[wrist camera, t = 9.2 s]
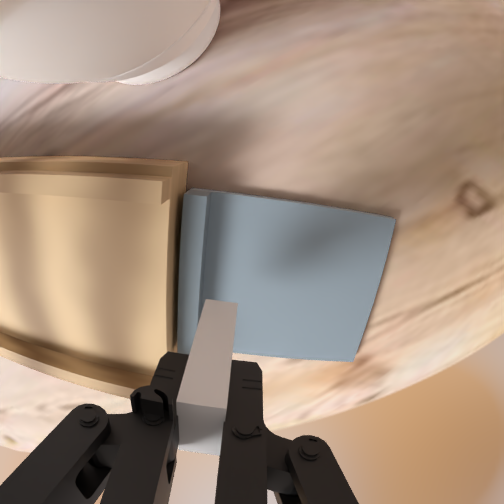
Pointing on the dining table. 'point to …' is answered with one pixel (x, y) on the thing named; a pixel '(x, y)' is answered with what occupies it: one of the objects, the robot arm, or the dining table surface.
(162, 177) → the slide box
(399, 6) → the dining table surface
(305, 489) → the robot arm
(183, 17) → the jar
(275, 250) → the cover plate
